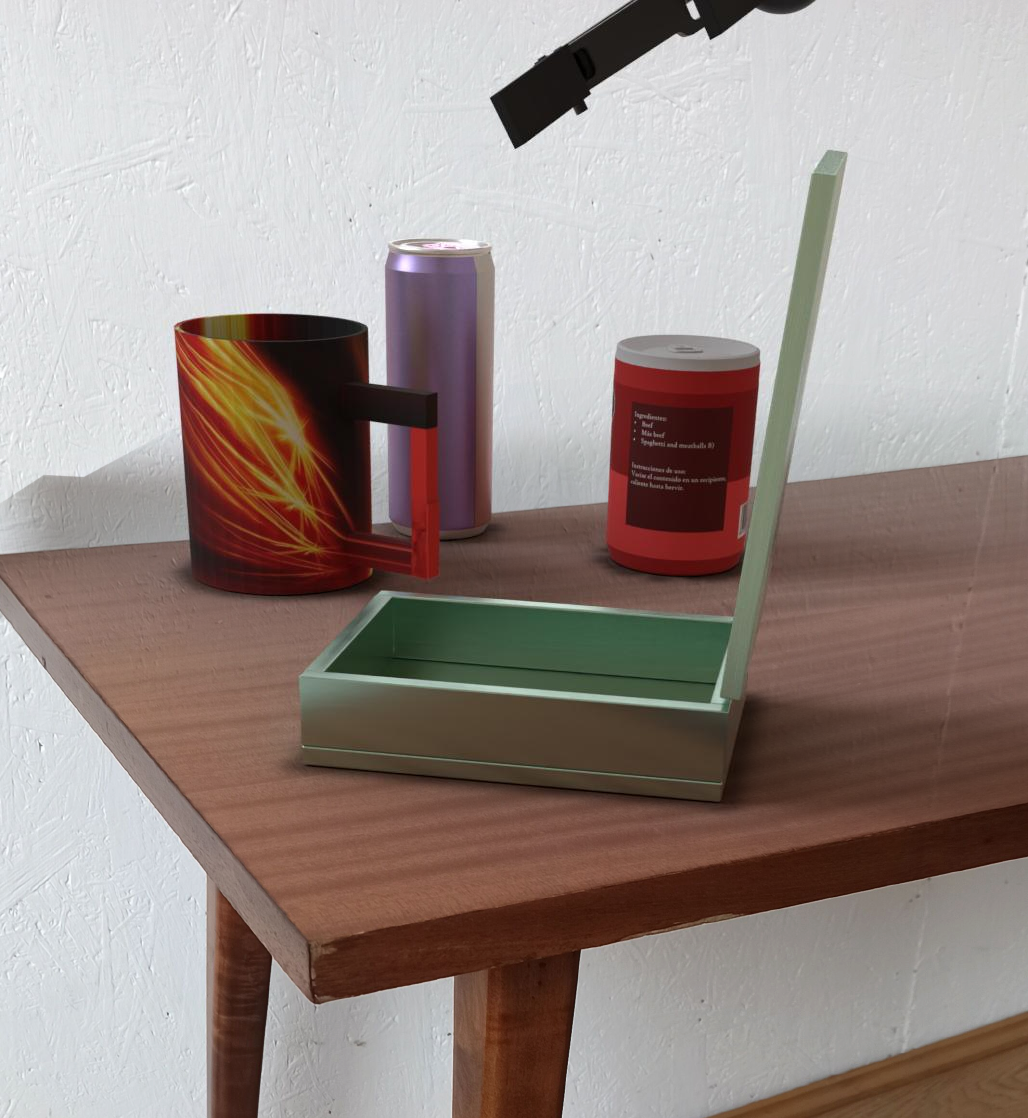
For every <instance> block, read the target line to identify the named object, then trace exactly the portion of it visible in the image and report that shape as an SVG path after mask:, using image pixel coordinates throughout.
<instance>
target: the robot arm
mask: <svg viewBox="0 0 1028 1118" xmlns="http://www.w3.org/2000/svg"><path fill="white" fill-rule="evenodd" d="M816 1H817V0H628V1H627V2H625V3H624V4H622V5H621V6H619V7H618V8H616V9H615V10H613V11H612V12H610V13H609V14H608V15H606V16H605V17H603V18H602V19H600V20H598V21H597V22H595V23H594V24H593V25H591V26H590V27H588V28H586V29H585V30H583V31H582V32H581V33H579V34H578V35H576V36H575V37H574V38H572V39H570V40H569V41H568V42H566V43H564V44H563V45H560V46H558V47H556V48H555V49H554V50H553V51H552V53H551V52H550V54H548V55H547V54H543V55H542V56H540V57H539V58H537V61H535V62H534V63H533V65H532V67H530V68H529V69H528V70H526V71H525V72H523V73H522V74H521V75H519V76H518V77H516V78H515V79H514V80H512V81H511V82H509V83H508V84H506V85H505V86H504V87H503V88H501V89H499V90H498V91H496V93H494V94H493V95H491V96H490V97H489V99H490V102H491V104H492V106H493V109H494V110H495V112H496V114H497V117H498V118H499V120H500V122H501V124H502V126H503V128H504V131H505V132H506V134H507V137H508V138H509V140H510V142H511V145H512V146H513V149H514V150H516V149H517V150H518V148H520V147H522V146H524V145H526V144H527V143H528V142H530V140H532V139H533V138H535V137H536V136H537V135H539V134H540V133H541V132H543V131H544V130H545V129H547V128H548V127H550V126H551V125H552V124H553V123H555V122H556V121H558V120H559V119H560V118H561V117H563V116H564V115H566V114H567V113H568V112H570V111H571V110H573V111H574V113H575V115H576V116H580V115H581V114H583V113H584V112H586V111H588V110H589V107H588V105H587V102H586V101H585V100H586V99H587V98H588V97H590V96H591V95H592V92H591V90H593V89H594V88H596V87H597V86H598V85H600V84H602V83H603V82H604V81H606V80H607V79H609V78H611V77H612V76H613V75H615V74H617V73H618V72H620V71H622V70H623V69H624V68H626V67H628V66H629V65H631V64H632V63H634V62H635V61H637V60H638V59H640V58H642V56H644V55H646V54H647V53H649V52H651V51H652V50H653V49H655V48H657V47H658V46H660V45H661V44H663V43H664V42H666V41H668V40H669V39H670V38H672V37H673V36H675V35H677V36H679V37H681V38H688V37H690V36H693V35H695V34H696V33H698V32H699V31H701V30H702V29H704V30H705V32H706V34H707V36H708V39H709V41H711V40H713V39H715V38H717V37H719V36H721V35H723V34H724V33H725V32H727V31H728V30H729V29H730V28H732V27H733V26H734V25H735V24H737V23H738V22H739V21H741V20H742V19H743V18H745V17H746V16H747V15H749V14H750V13H751V12H753V11H754V10H755V9H756V10H759V11H761V12H764V13H767V14H770V15H771V14H772V15H790V14H793V13H797V12H800V11H802V10H804V9H806V8H808V7H809V6H811V5H812V4H813V3H815V2H816ZM691 2H693V5H694V6H695V9H696V11H697V13H698V16H699V17H696V19H695V18H694V17H693V16H692V15H691V12H690V10H689V7H688V5H687V4H689V3H691Z"/></svg>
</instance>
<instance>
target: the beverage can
mask: <svg viewBox="0 0 1028 1118" xmlns="http://www.w3.org/2000/svg"><path fill="white" fill-rule="evenodd" d="M387 248H388V253H387V258H386V261H385V264H384V291H385V292H384V297H385V300H384V301H385V303H384V307H385V352H386V353H385V363H386V364H385V367H386V368H385V370H386V371H385V372H386V386H394V387H401V388H409V389H417V390H424V391H431V392H438V500H439V541H440V540H443V541H444V540H445V541H446V540H447V541H448V540H459V539H460V540H461V539H466V538H467V539H468V538H473V537H476V536H478V535H480V534H483V532H484V531H486V528H488V525H489V524H490V522H491V520H492V515H493V514H492V513H493V512H492V510H493V507H492V506H493V502H492V501H493V443H494V440H493V439H494V377H495V376H494V372H495V369H494V367H495V365H494V364H495V363H494V362H495V301H496V299H495V298H496V295H495V294H496V293H495V292H496V285H495V284H496V267H495V262H494V260H493V256H492V250H493V246H492V244H491V243H490V242H486V241H481V240H475V239H467V238H452V237H451V238H450V237H449V238H448V237H447V238H446V237H443V238H442V237H413V238H402V239H394V240H390V241H389V242H388V243H387ZM386 425H387V426H386V427H387V429H386V430H387V435H386V436H387V490H388V491H387V492H388V493H387V494H388V495H387V496H388V499H387V501H388V518H389V519H390V522H391V524H392V526H393V527H394V529H395V530H396V531H397V532H399V533H400V534H402V535H404V536H408V537H411V538H412V525H411V427H406V426H399V425H392V424H386Z"/></svg>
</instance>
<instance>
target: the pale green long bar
mask: <svg viewBox="0 0 1028 1118" xmlns="http://www.w3.org/2000/svg"><path fill="white" fill-rule="evenodd" d="M848 154H849V153H848V152H847V151H841V150H834V149H827V150H826V151H825V153H824V154H823V156H822V158H821V159H820V160H819V162H818V163H817V164H816V166H815V167H814V169H813V171H812V172H811V174H810V181H809V186H808V192H807V198H806V203H805V208H804V213H803V214H804V215H803V220H802V226H801V232H800V238H799V243H798V249H797V254H796V260H795V266H794V272H793V276H792V283H791V288H790V294H789V300H788V305H787V311H786V317H785V323H784V328H783V334H782V340H781V345H780V350H779V356H778V362H777V368H776V373H775V374H776V375H775V379H774V385H773V389H772V390H773V391H772V396H771V402H770V407H769V414H768V420H767V424H766V430H765V435H764V441H763V447H762V453H761V459H760V464H759V469H758V476H757V481H756V487H755V493H754V498H753V505H752V510H751V516H750V522H749V526H748V532H747V538H746V543H745V550H744V555H743V561H742V566H741V573H740V576H739V577H740V578H739V582H738V583H739V584H738V589H737V595H736V600H735V604H734V605H735V606H734V612H733V616H732V617H733V623H732V628H731V634H730V640H729V645H728V651H727V657H726V662H725V668H724V674H723V679H722V685H721V691H720V698H724V699H730V700H736V701H740V700H741V697H742V693H743V689H744V685H745V681H746V677H747V673H748V674H749V670H748V669H750V665H751V661H752V657H753V652H754V649H755V645H756V641H757V637H758V633H759V628H760V625H761V621H762V617H763V613H764V609H765V605H766V604H765V603H766V599H767V593H768V588H769V583H770V576H771V571H772V565H773V561H774V555H775V550H776V545H777V539H778V534H779V528H780V523H781V517H782V511H783V506H784V501H785V496H786V490H787V485H788V479H789V475H790V468H791V463H792V458H793V453H794V447H795V441H796V437H797V430H798V425H799V420H800V414H801V409H802V404H803V399H804V392H805V388H806V382H807V377H808V371H809V367H810V361H811V355H812V350H813V345H814V339H815V334H816V328H817V323H818V318H819V313H820V306H821V302H822V297H823V291H824V286H825V279H826V273H827V269H828V264H829V257H830V254H831V253H830V252H831V247H832V242H833V236H834V230H835V225H836V221H837V214H838V209H839V204H840V199H841V198H840V197H841V193H842V188H843V184H844V183H843V181H844V177H845V172H846V167H847V166H846V165H847V161H848V156H849V155H848Z"/></svg>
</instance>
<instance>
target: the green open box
mask: <svg viewBox="0 0 1028 1118" xmlns="http://www.w3.org/2000/svg"><path fill="white" fill-rule="evenodd" d="M733 617H734V616H730V615H729V616H728V615H716V614H715V615H714V614H701V613H699V614H698V613H690V612H689V613H687V612H675V611H673V612H672V611H661V610H649V609H648V610H647V609H635V608H634V609H633V608H622V607H621V608H620V607H608V606H606V607H605V606H596V605H595V606H594V605H582V604H581V605H580V604H568V603H555V602H554V603H553V602H541V601H528V600H527V601H526V600H515V599H502V598H501V599H500V598H487V597H486V598H485V597H475V596H461V595H450V594H449V595H448V594H436V593H435V594H434V593H421V592H408V591H407V592H406V591H394V590H379V592H377V593H376V594H374V596H373V597H372V598H371V599H370V600H369V601H368V602H367V604H366V605H364V606H363V607H362V609H361V610H360V611H359V612H358V613H357V614H356V615H355V616H354V617H353V618H352V619H351V620H350V621H349V623H347V624H346V626H345V627H343V629H342V630H341V631H340V632H339V633H338V634H337V635H336V636H335V637H334V638H333V639H332V640H331V641H330V642H329V644H328V645H327V646H326V647H325V648H324V649H323V650H322V651H321V652H320V653H319V654H318V655H317V656H316V658H314V659H313V661H311V663H309V665H308V666H307V667H306V668H305V669H304V670H303V671H302V672H301V673H300V675H298V688H299V689H298V690H299V692H298V693H299V713H300V714H299V715H300V716H299V717H300V738H301V745H302V746H301V756H302V759H301V760H302V765H305V766H306V765H307V766H319V767H328V768H339V769H350V770H360V771H361V770H363V771H373V772H382V773H383V772H384V773H393V774H406V775H418V776H429V777H438V778H449V779H451V778H452V779H460V780H461V779H462V780H471V781H472V780H473V781H484V782H495V783H506V784H516V785H528V786H537V787H549V788H550V787H551V788H560V789H561V788H562V789H571V790H583V791H595V792H604V793H605V792H606V793H617V794H627V795H638V796H647V797H649V796H650V797H659V798H670V799H681V800H691V801H693V800H694V801H705V802H715V803H719V802H721V801H722V799H723V798H722V797H723V794H724V789H725V785H726V781H727V777H728V773H729V770H730V769H729V768H730V764H731V761H732V757H733V753H734V749H735V744H736V741H737V736H738V732H739V729H740V728H739V727H740V723H741V721H742V715H743V711H744V708H745V703H746V699H747V689H748V680H749V672H748V673H747V677H746V681H745V685H744V689H743V693H742V697H741V700H740V701H736V700H730V699H724V698H720V691H721V685H722V679H723V674H724V668H725V662H726V657H727V651H728V645H729V640H730V634H731V628H732V623H733ZM749 669H750V668H749ZM749 669H748V671H749Z"/></svg>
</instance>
